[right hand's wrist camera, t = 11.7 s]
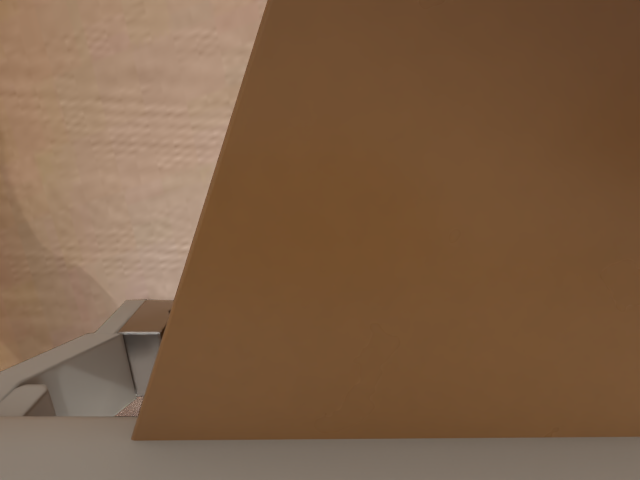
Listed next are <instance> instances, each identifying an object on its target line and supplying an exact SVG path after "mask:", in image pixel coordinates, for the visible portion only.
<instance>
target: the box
mask: <svg viewBox="0 0 640 480" xmlns="http://www.w3.org/2000/svg"><path fill="white" fill-rule="evenodd" d="M545 437H640V0H268V1H267V4H266V7H265V11H264V14H263V17H262V20H261V23H260V27H259V30H258V33H257V36H256V39H255V43H254V46H253V49H252V52H251V55H250V59H249V62H248V65H247V68H246V71H245V75H244V78H243V81H242V84H241V87H240V91H239V94H238V97H237V100H236V103H235V107H234V110H233V113H232V116H231V119H230V123H229V126H228V129H227V132H226V135H225V139H224V142H223V145H222V148H221V151H220V155H219V158H218V161H217V164H216V167H215V171H214V174H213V177H212V180H211V183H210V187H209V190H208V193H207V196H206V199H205V203H204V206H203V209H202V212H201V215H200V219H199V222H198V225H197V228H196V231H195V235H194V238H193V241H192V244H191V247H190V251H189V254H188V257H187V260H186V263H185V267H184V270H183V273H182V276H181V279H180V282H179V286H178V289H177V292H176V295H175V298H174V302H173V305H172V308H171V311H170V314H169V318H168V321H167V324H166V327H165V330H164V334H163V337H162V340H161V343H160V346H159V350H158V353H157V356H156V359H155V362H154V366H153V369H152V372H151V375H150V378H149V382H148V385H147V388H146V391H145V394H144V398H143V401H142V404H141V407H140V410H139V414H138V417H137V420H136V423H135V426H134V430H133V433H132V436H131V440H134V441H156V440H285V439H415V438H545Z"/></svg>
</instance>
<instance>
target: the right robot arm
mask: <svg viewBox="0 0 640 480" xmlns="http://www.w3.org/2000/svg"><path fill="white" fill-rule="evenodd" d="M173 302H174V300H147V299H141V300H126V301H125V302H124V303H123V304H122V305H121V306H120V307H119V308H118V309H117V310H116V311H115V312H114V313H113V314H112V315H111V317H110V318H109V319H108V320H107V321H106V322H105V323H104V324H103V325H102V326H101V327H100V328H99V329H98V330H97V331H96V332H95V333H88V334H85V335H83V336H81V337H78V338H76V339H74V340H72V341H69V342H67V343H65V344H62V345H60V346H58V347H56V348H53V349H51V350H49V351H47V352H44V353H42V354H40V355H37V356H35V357H33V358H31V359H28V360H26V361H24V362H21V363H19V364H17V365H15V366H12V367H10V368H8V369H6V370H3V371H1V372H0V480H640V437H545V438H415V439H285V440H156V441H134V440H131V436H132V433H133V430H134V426H135V423H136V420H137V417H138V416H115V415H116V414H118V413H119V412H120V411H121V410H123V409H124V408H125V407H126V406H128V405H129V404H130V403H131V402H133V401H134V400H135V399H136V397H142V396H144V394H145V391H146V388H147V385H148V382H149V378H150V375H151V372H152V369H153V366H154V362H155V359H156V356H157V353H158V350H159V346H160V343H161V340H162V337H163V334H164V330H165V327H166V324H167V321H168V318H169V314H170V311H171V308H172V305H173Z"/></svg>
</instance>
